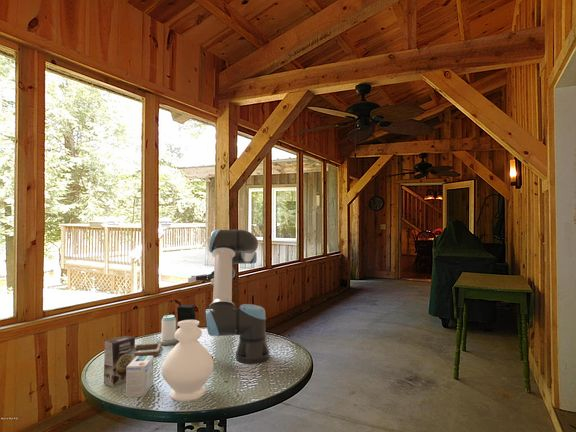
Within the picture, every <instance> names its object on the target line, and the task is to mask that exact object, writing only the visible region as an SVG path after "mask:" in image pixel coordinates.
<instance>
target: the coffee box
mask: <svg viewBox="0 0 576 432" xmlns="http://www.w3.org/2000/svg"><path fill="white" fill-rule="evenodd" d="M135 345H136V337H135V336H129V335H122V336H118V337H114V338H111V339H107V340H104V354H103V355H104V359H103V384H105V385H107V386H109V387H111V388H113V387H114V388H115V387H117V386H119V385H123V384H126V367H127V366H128V365H129V364H130V363H131V361H132V360H133V359H134V358H135Z"/></svg>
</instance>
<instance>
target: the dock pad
mask: <svg viewBox="0 0 576 432" xmlns="http://www.w3.org/2000/svg"><path fill="white" fill-rule="evenodd" d="M155 343H161V347H162V346H167V347H168V346H174V345H175V346H176V345H177V339H176V338H175V339H174V340H172V341H163V340H162V339H161V337H160V338H158V339H156V342H155Z"/></svg>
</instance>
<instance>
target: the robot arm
mask: <svg viewBox="0 0 576 432" xmlns="http://www.w3.org/2000/svg"><path fill="white" fill-rule="evenodd" d="M258 240H259V239H257V237H256V236H255V234H253V233H252V232H250V231H248V230H245V229H214V230H213V231H212V232H211V233H210V238H209V245H208V251H209V252H210V253H211V256H212V257H213V258H214V269H213V271H211V273H209V274H199V275H191V277H188V278H187V281H188V282H187V283H188V284H191V283H192V284H193V283H196V282H200V281H202V282H203V281H205V282H210V285H213V290H212V291H213V292H212V293H213V294H212V296H213V297H212V302H211V303H210V304H209V306H208V308H207V309H205V320H206V330H207V334H208V335H209V336H211V337H223V336H225V337H226V336H227V337H228V336H239V341H238V345H237V348H236V351H235V360H236V361H237V362H240V363H242V364H260V363H263V362H267V361H268V360H269V359H270V350H269V348H268V344H267V340H266V319H267V318H266V317H267V316H266V310H265V308H264V307H262V306H261V305H256V304H249V303H243V304H240V306H239V307H237V308H236V305H235V303H234V302H233V301H232V299H233V297H232V296H233V289H232V288H233V278H235V276H236V271H235V269H234V265H235V264H236V265H237V264H239V265H241V264H242V265H245V264H246V265H248V264H250V265H252V264H257V261H258V259H257V257H258V256H257V249H258V246H259V241H258Z"/></svg>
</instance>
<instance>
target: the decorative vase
mask: <svg viewBox="0 0 576 432" xmlns="http://www.w3.org/2000/svg"><path fill="white" fill-rule="evenodd" d="M199 325H200V320H183V321H180V322H178V321H177V327H178V326H179V327H180V328H179V329H178V328H176V332H175V338H176V339H177V340H178V341H179V343H178V344H175V346H173V348H171V350H170V351H169V352H168V353H167V355H166V357H165V358H164V360H163V363H162V365H161V375H162V378H163V379H164V381H165V382H166V383H167V385H169V386H170V388H171V390H169V395H168V396H169V398H170V399H172V400H173V401H177V402H189V401H194V400H197V399H200V398H201V397H203V396H204V395H205V394H206V393H207V389H206V387H205V386H204V385H205V384H206V382H207V381H208V379H209V378H210V377H211V375H212V373H213V371H214V360H213V357H212V355H211V353H210V352H209V350H208V349H207V348H206V347H205V346H204V345H203V344H202V343H200V341H199V339H200V338H201V336H203V335H202V334H203V331H202V329H201V328H200V327H198V326H199Z"/></svg>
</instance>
